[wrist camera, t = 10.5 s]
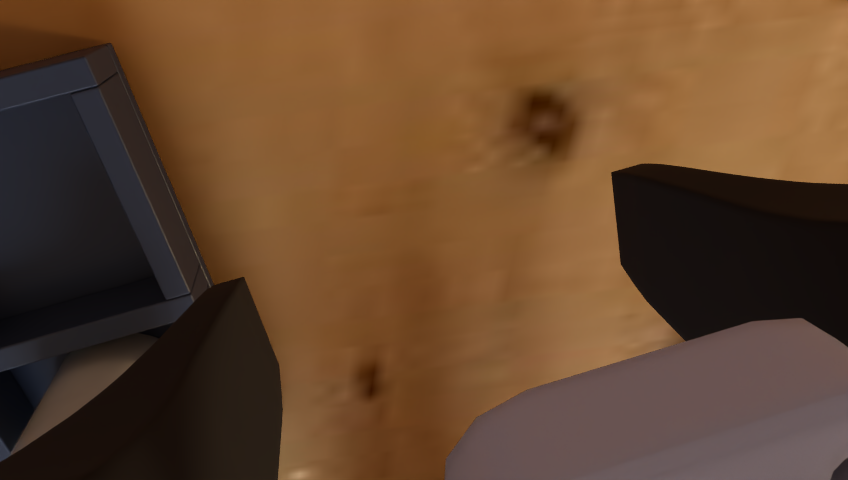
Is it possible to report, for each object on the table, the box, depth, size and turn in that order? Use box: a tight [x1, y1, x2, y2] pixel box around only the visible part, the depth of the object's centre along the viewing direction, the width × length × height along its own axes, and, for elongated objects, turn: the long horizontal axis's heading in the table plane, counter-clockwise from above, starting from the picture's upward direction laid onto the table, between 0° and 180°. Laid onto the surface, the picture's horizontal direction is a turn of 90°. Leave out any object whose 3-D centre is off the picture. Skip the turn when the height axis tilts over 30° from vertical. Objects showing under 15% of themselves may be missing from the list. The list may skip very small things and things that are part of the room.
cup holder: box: [0, 43, 214, 462], centre depth 21 cm, size 15×8×3 cm, turn 13°
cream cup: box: [8, 333, 159, 457], centre depth 20 cm, size 5×5×8 cm
